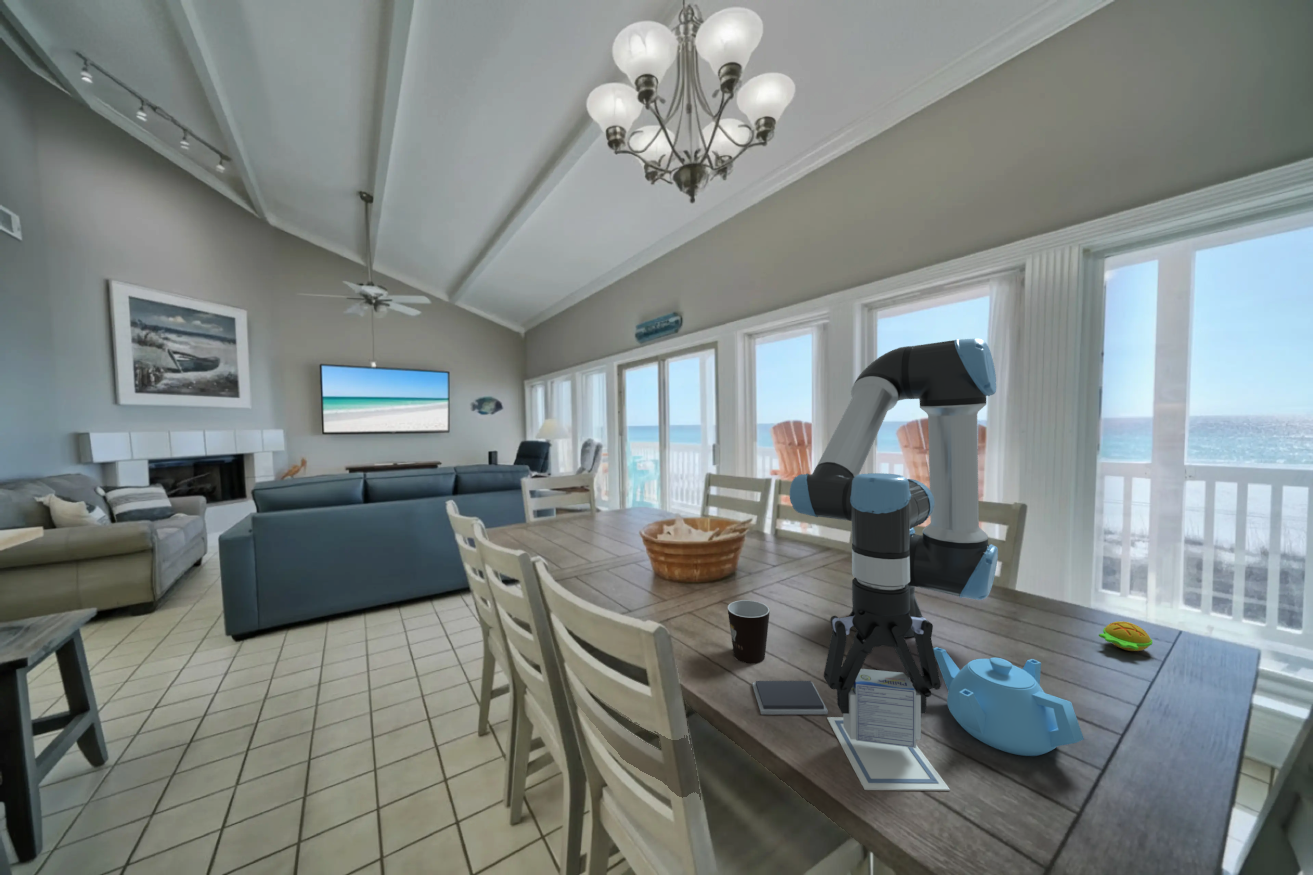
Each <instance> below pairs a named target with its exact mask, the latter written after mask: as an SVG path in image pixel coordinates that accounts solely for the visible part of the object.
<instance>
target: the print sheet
mask: <svg viewBox="0 0 1313 875" xmlns="http://www.w3.org/2000/svg"><path fill="white" fill-rule="evenodd" d="M826 718H827V721H828V724H829V725H830V727H831V729H832V730H833V732H834V735H835V736H836V738H837V740H838V742H839V744H840V746H841V748H842V750H843V752H844V754H845V755H846V757H847V759H848V761H849V763H850V765H851V767H852V769H853V771H854V772H855V774H856V776H857V778H858V780H859V783H860V784H861V786H862V788H863V789H864V791H939V792H940V791H942V792H943V791H946V792H947V791H949V792H950V791H951V789H950V787H949V786H948V785H947V783H946V782H945V781H944V779H943V778H942V776H941V775H940V773H938V771H937V770H936V769H935V767H934V766H933V765H932V763H931V762H930V761H929V759H928V758H927V757H926V755H924V753H923V751H922V750H921V749H920V748H919V747H918V745H917V744H916V748H912V747H904V746H896V745H888V744H880V743H872V742H864V741H857V740H856V739H850V737H849V735H848V734H847V732H846V730H845V728H844V726H843V716H840V717H839V716H837V717H836V716H835V717H834V716H832V717H831V716H828V717H826Z"/></svg>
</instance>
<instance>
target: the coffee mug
mask: <svg viewBox="0 0 1313 875" xmlns="http://www.w3.org/2000/svg"><path fill="white" fill-rule="evenodd" d="M770 612H771V610H770V607H769V605H767V604H765V603H763V602H761V601H760V602H759V601H757V600H749V599H741V600H736V601H732V602H730V603H729V604H728V605H727V615H728V622H729V629H730V637H731V642H732V643H731V644H732V651H733V657H734V658H735V659H736V660H737V661H739V662H741V663H744V664H748V665H756V664H760V663H762V662H764V660H765V659H766V650H767V643H768V642H767V639H768V633H769V632H768V631H769V621H770V614H771V613H770Z"/></svg>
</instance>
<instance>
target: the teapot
mask: <svg viewBox="0 0 1313 875" xmlns="http://www.w3.org/2000/svg"><path fill="white" fill-rule="evenodd" d="M933 649H934V654H935V659H936V664H937V666H938V667H939V670H940V672H941V675H942V678H943V681H944V683H945V686H946V688H947V691H948V692H947V696H946V697H947V700H946V704H947V708H948V709H949V712H950V714H951V715H952V716H953V718H954V720H955V721H956V722H957V723H958V724H959V725H960V726H961V728H962V729H963V730H965V732H967V733H968V734H969V735H971V736H972V737H973V738H975V739H977V740H978V741H980V742H982V743H983V744H985V745H987V746H989V747H991V748H994V749H996V750H998V751H1002V752H1005V753H1008V754H1012V755H1016V756H1017V755H1018V756H1022V757H1023V756H1024V757H1037V756H1042V755H1044V754H1047V753H1049V752H1051V751H1053V750H1054V749H1056V748H1057V747H1060V746H1061V747H1062V746H1065V745H1066V746H1067V745H1071V744H1077V743H1079V742H1081V741H1084V740H1085V738H1084V736H1083V732H1082V730H1081V726H1080V723H1079V721H1078V717H1077V715H1076V713H1075V709H1074V706H1073V704H1072V701H1070V700H1067V699H1063V698H1062V697H1061V698H1060V697H1057V696H1055V695H1053V694H1048V693H1046V692H1045V690H1043V688H1042V687H1041V685H1040V683H1041V669H1042V667H1041V666H1042V662H1040V661H1038V660H1037V659H1034V658H1030V659H1028V660H1026V662H1025V663H1024V665H1023V667H1022V668H1021V667H1018V666H1016V665H1013V663H1011V662H1010V661H1009V660H1007V659H1004V658H1000V657H990V658H976V659H973V660H970V661H969V662H968V663H966V664H965V665H964V666H963V667H962V668H961V669H960V668H959V667H958V665H957V664H956V663H955V662H954V660H953V659H952V657H950V655H949V653H947V650H946V649H944V648H940V647H937V646H936V647H933Z"/></svg>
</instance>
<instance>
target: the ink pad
mask: <svg viewBox="0 0 1313 875" xmlns="http://www.w3.org/2000/svg"><path fill="white" fill-rule="evenodd" d="M752 688H753V692H754V696H755V698H756V701H757V706H758V708H759V711H760V715H828V714H829V711H828V708H827V706H826V705H825V703H824V701H823V699H822V696H820V694H819V691H818V690H817V688H816V686H815V684H814V682H812V681H811V680H755V682H752Z"/></svg>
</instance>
